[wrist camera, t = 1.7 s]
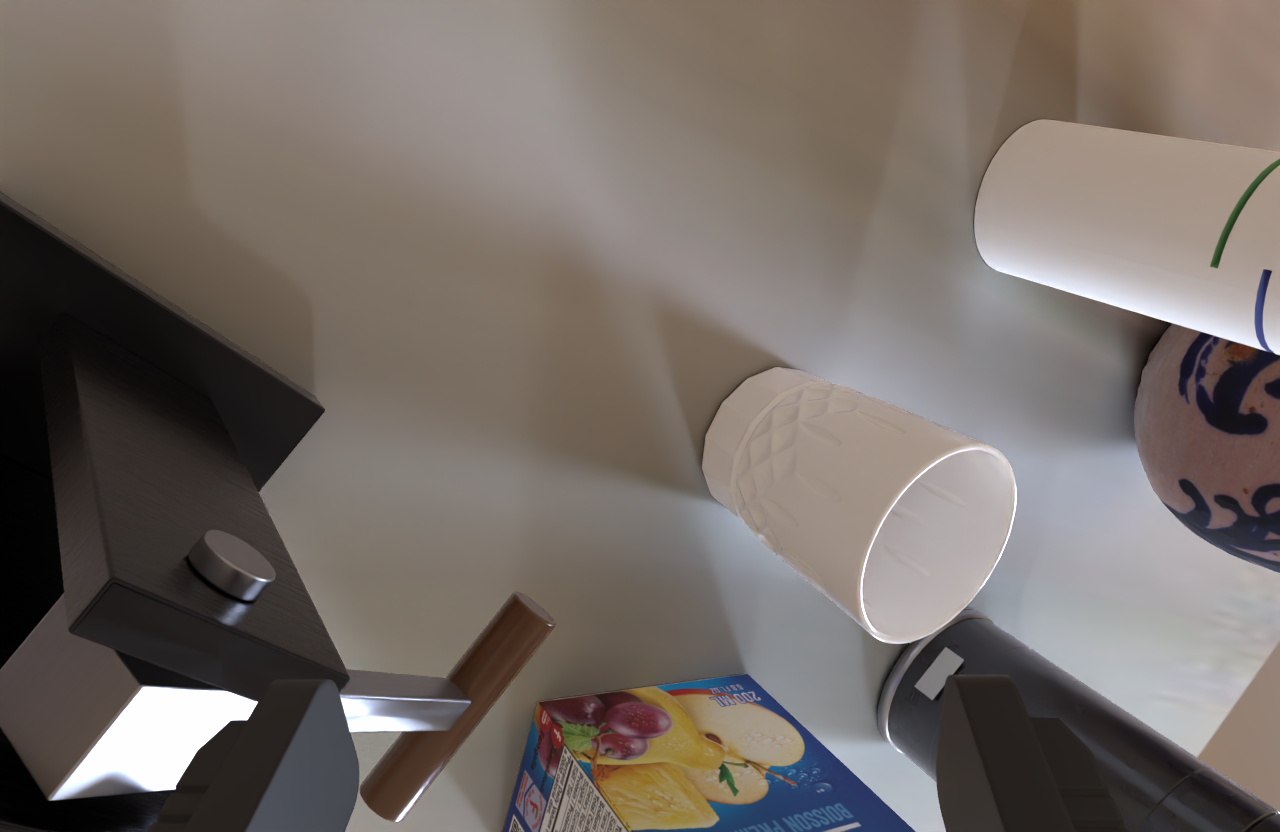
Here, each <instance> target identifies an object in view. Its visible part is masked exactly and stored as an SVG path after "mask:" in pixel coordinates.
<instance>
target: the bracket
mask: <svg viewBox="0 0 1280 832" xmlns="http://www.w3.org/2000/svg"><path fill="white" fill-rule="evenodd" d="M324 411H325V409H324V408H323V406H322V405H321V404H320V402H319V401H318V400H317V398H316V397H315V396H314V395H312V394H311V393H309V392H308V391H306V390H305V389H303V388H301V387H300V386H298V385H297V384H295V383H294V382H292V381H291V380H289V379H288V378H286V377H285V376H283V375H281V374H280V373H278V372H277V371H275V370H274V369H272V368H271V367H269V366H268V365H266V364H265V363H263V362H261V361H260V360H258V359H257V358H255V357H254V356H252V355H251V354H249V353H248V352H246V351H244V350H243V349H241V348H240V347H238V346H237V345H235V344H234V343H232V342H231V341H229V340H228V339H226V338H224V337H223V336H221V335H220V334H218V333H217V332H215V331H214V330H212V329H211V328H209V327H208V326H206V325H204V324H203V323H201V322H200V321H198V320H197V319H195V318H194V317H192V316H191V315H189V314H187V313H186V312H184V311H183V310H181V309H180V308H178V307H177V306H175V305H174V304H172V303H171V302H169V301H167V300H166V299H164V298H163V297H161V296H160V295H158V294H157V293H155V292H154V291H152V290H151V289H149V288H147V287H146V286H144V285H143V284H141V283H140V282H138V281H137V280H135V279H134V278H132V277H131V276H129V275H127V274H126V273H124V272H123V271H121V270H120V269H118V268H117V267H115V266H114V265H112V264H110V263H109V262H107V261H106V260H104V259H103V258H101V257H100V256H98V255H97V254H95V253H94V252H92V251H90V250H89V249H87V248H86V247H84V246H83V245H81V244H80V243H78V242H77V241H75V240H74V239H72V238H70V237H69V236H67V235H66V234H64V233H63V232H61V231H60V230H58V229H57V228H55V227H53V226H52V225H50V224H49V223H47V222H46V221H44V220H43V219H41V218H40V217H38V216H37V215H35V214H33V213H32V212H30V211H29V210H27V209H26V208H24V207H23V206H21V205H20V204H18V203H17V202H15V201H13V200H12V199H10V198H9V197H7V196H6V195H4V194H3V193H1V192H0V670H1V668H2V667H3V666H4V665H5V664H6V662H7V661H8V660H9V659H10V657H11V656H12V655H13V654H14V653H15V651H16V650H17V649H18V648H19V647H20V645H21V644H22V643H23V642H24V641H25V639H26V638H27V637H28V636H29V635H30V633H31V632H32V631H33V630H34V629H35V627H36V626H37V625H38V624H39V622H40V621H41V620H42V619H43V618H44V616H45V615H46V614H47V613H48V612H49V610H50V609H51V608H52V607H53V606H54V604H55V603H56V602H57V601H58V600H59V598H60V597H61V596H62V595H63V593H64V597H65V607H66V617H67V626H68V631H69V632H70V633H71V634H74V635H76V636H79V637H82V638H84V639H87V640H90V641H92V642H95V643H98V644H100V645H103V646H106V647H109V648H111V649H114V650H117V651H119V652H122V653H125V654H127V655H130V656H133V657H135V658H138V659H141V660H144V661H146V662H149V663H152V664H154V665H157V666H160V667H162V668H165V669H168V670H171V671H173V672H176V673H179V674H181V675H184V676H187V677H189V678H192V679H195V680H197V681H200V682H203V683H206V684H208V685H211V686H214V687H216V688H219V689H222V690H224V691H227V692H230V693H232V694H235V695H238V696H241V697H243V698H246V699H249V700H251V701H254V702H258V701H259V699H260V697H261V696H262V694H263V692H264V690H265V689H266V687H267V686H268V685H269V684H270V683H271V682H272V681H274V680H310V679H329V680H332V681H333V682H334V683H335V684H336V686H337V688H338V691H339V694H340V693H341V692H342V691H343V689H344V688H345V687H346V686H347V684H348V683H349V682H350V676H349V674H348V672H347V670H346V668H345V666H344V664H343V662H342V660H341V658H340V656H339V654H338V652H337V650H336V648H335V646H334V644H333V642H332V640H331V638H330V636H329V634H328V632H327V630H326V628H325V626H324V624H323V622H322V620H321V618H320V616H319V614H318V612H317V610H316V608H315V606H314V604H313V602H312V600H311V597H310V595H309V593H308V591H307V589H306V587H305V585H304V583H303V581H302V579H301V577H300V575H299V573H298V571H297V569H296V567H295V565H294V563H293V561H292V559H291V557H290V555H289V553H288V551H287V549H286V547H285V545H284V543H283V541H282V539H281V537H280V535H279V533H278V531H277V529H276V527H275V525H274V523H273V521H272V519H271V517H270V515H269V513H268V511H267V509H266V507H265V505H264V503H263V501H262V499H261V497H260V495H259V493H258V492H259V491H260V490H261V488H262V487H263V486H264V485H265V484H266V482H267V481H268V480H269V479H270V477H271V476H272V475H273V474H274V473H275V471H276V470H277V469H278V468H279V466H280V465H281V464H282V463H283V462H284V460H285V459H286V458H287V457H288V455H289V454H290V453H291V452H292V451H293V449H294V448H295V447H296V446H297V444H298V443H299V442H300V441H301V440H302V438H303V437H304V436H305V435H306V434H307V432H308V431H309V430H310V429H311V427H312V426H313V425H314V424H315V423H316V421H317V420H318V419H319V418H320V416H321V415H322V414H323V413H324ZM174 792H175V790H167V791H156V792H144V793H133V794H122V795H111V796H100V797H88V798H77V799H66V800H55V801H49V800H47V799H46V797H45V796H44V794H43V793H42V791H41V790H40V788H39V787H38V785H37V783H36V782H35V780H34V779H33V777H32V776H31V774H30V773H29V771H28V770H27V768H26V767H25V765H24V763H23V762H22V760H21V759H20V757H19V756H18V754H17V753H16V751H15V750H14V748H13V746H12V745H11V743H10V742H9V740H8V739H7V737H6V736H5V734H4V733H3V731H2V730H1V728H0V832H147V831H148V830H149V828H150V826H151V825H152V823H153V822H157V820H158V813H159V812H160V810H161V809H162V807H163V805H164V804H165V802H166V800H167V799H168V797H169V796H170V794H171V793H174Z"/></svg>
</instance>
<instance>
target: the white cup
mask: <svg viewBox="0 0 1280 832" xmlns="http://www.w3.org/2000/svg"><path fill="white" fill-rule="evenodd" d="M702 470H703V473H704V476H705V479H706V482H707V485H708V488H709V491H710V493H711V495H712V496H713V497H714V498H715V499H716V500H717V501H719V502H720V503H721V504H722V505H724V506H725V507H726V508H727V509H729V510H730V511H731V512H732V513H733V514H735V515H736V516H737V517H738V518H739V519H740V520H741V521H742V522H744V523H745V524H746V525H747V526H748V527H749V528H750V529H751V531H752V532H753V533H754V535H755V536H756V537H757V538H759V539H760V540H761V541H762V542H763V543H764V544H765V545H766V546H767V547H768V548H769V549H771V550H772V551H773V552H774V553H775V554H776V555H777V556H778V557H779V558H780V559H782V560H783V561H784V562H785V563H786V564H787V565H789V566H790V567H791V568H792V569H793V570H795V571H796V572H797V573H798V574H799V575H801V576H802V577H803V578H804V579H805V580H807V581H808V582H809V583H810V584H811V585H813V586H814V587H815V588H816V589H817V590H819V591H820V592H821V593H822V594H823V595H825V596H826V597H827V598H828V599H829V600H831V601H832V602H833V603H834V604H835V605H836V606H838V607H839V608H840V609H841V610H842V611H844V612H845V613H846V614H847V615H848V616H850V617H851V618H852V619H853V620H854V621H855V622H857V623H858V624H859V625H860V626H861V627H863V628H864V629H865V630H866V631H867V632H868V633H870V634H871V635H872V636H873V637H875V638H876V639H878V640H880V641H883V642H886V643H891V644H903V643H909V642H913V641H916V640H919V639H922V638H924V637H926V636H928V635H930V634H932V633H934V632H935V631H937V630H939V629H940V628H942V627H943V626H944V625H946V624H947V623H948V622H950V621H951V620H952V619H953V618H954V617H956V616H957V615H958V614H959V613H960V612H961V611H962V610H963V609H964V608H965V607H966V606H967V605H968V604H969V603H970V601H971V600H972V599H973V598H974V597H975V596H976V594H977V593H978V592H979V591H980V589H981V588H982V586H983V585H984V584H985V582H986V581H987V579H988V578H989V576H990V575H991V573H992V571H993V570H994V568H995V566H996V564H997V562H998V560H999V558H1000V556H1001V554H1002V552H1003V550H1004V548H1005V545H1006V543H1007V540H1008V537H1009V534H1010V531H1011V528H1012V524H1013V520H1014V515H1015V509H1016V497H1017V492H1016V481H1015V476H1014V472H1013V469H1012V467H1011V465H1010V463H1009V461H1008V460H1007V458H1006V457H1005V456H1004V455H1003V454H1002V453H1001V452H1000V451H999V450H998V449H996V448H994V447H992V446H990V445H987V444H985V443H982V442H980V441H978V440H975V439H973V438H970V437H968V436H966V435H963V434H961V433H958V432H956V431H953V430H951V429H949V428H946V427H944V426H942V425H939V424H937V423H934V422H932V421H930V420H927V419H925V418H923V417H920V416H918V415H916V414H913V413H911V412H908V411H906V410H904V409H901V408H899V407H897V406H894V405H892V404H889V403H887V402H884V401H882V400H879V399H876V398H873V397H870V396H867V395H865V394H863V393H861V392H858V391H856V390H853V389H850V388H848V387H845V386H841V385H838V384H833V383H830V382H828V381H826V380H823V379H821V378H819V377H817V376H814V375H812V374H810V373H807V372H805V371H802V370H795V369H788V368H781V367H774V368H772V369H769V370H767V371H764V372H762V373H760V374H757V375H755V376H752V377H750V378H747V379H746V380H745V381H744V382H743V383H742V384H741V385H740V386H739V387H738V388H737V389H736V390H735V391H734V392H733V393H732V394H731V395H730V396H729V397H728V398H727V399H726V400H725V401H723V403H722V404H721V406H720V408H719V410H718V412H717V414H716V416H715V418H714V420H713V421H712V423H711V425H710V427H709V429H708V431H707V433H706V436H705V445H704V453H703V461H702Z"/></svg>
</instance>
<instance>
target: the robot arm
mask: <svg viewBox="0 0 1280 832" xmlns="http://www.w3.org/2000/svg"><path fill="white" fill-rule="evenodd" d="M877 720H878V727H879V731H880V733H881V735H882V737H883V738H884V739H885V740H886V741H887V742H888V743H889V744H890V745H891V746H893V747H894V748H895V749H896V750H898V751H899V752H902V753H903V754H904V755H906V756H907V757H908V758H909V759H910V760H911V761H913V762H914V763H915V764H916V765H917V766H918V767H920V768H921V769H922V770H923V771H924V772H925V773H926V774H928V775H929V776H930V777H931V778H932V779H933V780H935V782H937V791H938V798H939V804H940V809H941V813H942V817H943V821H944V825H945V828H946V832H1280V812H1279V811H1278V810H1276V809H1275V808H1273V807H1272V806H1270V805H1269V804H1267V803H1266V802H1264V801H1263V800H1261V799H1260V798H1258V797H1257V796H1255V795H1253V794H1252V793H1250V792H1249V791H1247V790H1246V789H1244V788H1243V787H1241V786H1240V785H1238V784H1237V783H1235V782H1234V781H1232V780H1230V779H1229V778H1228V777H1226V776H1225V775H1223V774H1221V773H1220V772H1218V771H1217V770H1215V769H1213V768H1212V767H1210V766H1209V765H1207V764H1206V763H1204V762H1203V761H1201V760H1200V759H1198V758H1196V757H1195V756H1193V755H1192V754H1190V753H1189V752H1187V751H1186V750H1184V749H1183V748H1181V747H1180V746H1178V745H1177V744H1175V743H1174V742H1172V741H1171V740H1169V739H1168V738H1166V737H1165V736H1163V735H1161V734H1160V733H1158V732H1157V731H1155V730H1154V729H1152V728H1151V727H1149V726H1148V725H1146V724H1145V723H1143V722H1142V721H1140V720H1139V719H1137V718H1136V717H1134V716H1133V715H1131V714H1130V713H1128V712H1126V711H1125V710H1123V709H1122V708H1120V707H1119V706H1117V705H1116V704H1114V703H1113V702H1111V701H1110V700H1108V699H1107V698H1105V697H1104V696H1102V695H1101V694H1099V693H1098V692H1096V691H1094V690H1093V689H1091V688H1090V687H1088V686H1087V685H1085V684H1084V683H1082V682H1081V681H1079V680H1078V679H1076V678H1075V677H1073V676H1072V675H1070V674H1069V673H1067V672H1066V671H1064V670H1063V669H1061V668H1059V667H1058V666H1056V665H1055V664H1053V663H1052V662H1050V661H1049V660H1047V659H1046V658H1044V657H1043V656H1041V655H1040V654H1038V653H1037V652H1035V651H1034V650H1033V649H1031V648H1029V647H1028V646H1026V645H1025V644H1023V643H1022V642H1020V641H1019V640H1017V639H1016V638H1014V637H1013V636H1011V635H1010V634H1008V633H1007V632H1005V631H1003V630H1002V629H1000V628H999V627H997V626H996V625H995V624H994V623H993V622H992V621H991V620H990V619H988V618H987V617H985V616H984V615H982V614H981V613H979V612H977V611H974V610H969V609H964V610H962V611H961V612H960V613H959V614H958V615H957V616H956V617H954V618H953V619H952V620H951V621H950V622H948V623H947V624H946V625H944V626H943V627H942V628H940V629H939V630H937V631H935V632H934V633H932V634H930V635H928V636H926V637H924V638H922V639H919V640H916V641H913V642H911V643H910V645H909V646H908V647H907V648H906V650H905V651H904V652H903V653H902V655H901V656H900V658H899V659H898V661H897V662H896V664H895V665H894V667H893V669H892V671H891V672H890V674H889V676H888V678H887V681H886V683H885V685H884V688H883V691H882V694H881V697H880V701H879V706H878V715H877ZM358 786H359V764H358V758H357V755H356V751H355V747H354V744H353V740H352V737H351V733H350V730H349V726H348V723H347V719H346V716H345V712H344V709H343V705H342V702H341V698H340V694H339V691H338V688H337V686H336V684H335V683H334V682H333V681H332V680H329V679H310V680H274V681H272V682H271V683H270V684H269V685H268V686H267V687H266V689H265V690H264V692H263V694H262V696H261V697H260V699H259V701H258V702H257V704H256V706H255V708H254V709H253V711H252V713H251V715H250V716H249V718H248V720H231V721H229V722H228V723H227V724H226V725H225V726H224V727H223V728H222V729H221V730H220V731H218V732H217V733H216V734H215V735H214V736H213V737H212V738H211V739H210V740H208V741H207V742H206V743H205V744H204V745H203V746H202V747H201V748H200V749H198V750H197V752H196V753H195V755H194V757H193V758H192V760H191V761H190V763H189V765H188V766H187V768H186V770H185V771H184V773H183V774H182V776H181V778H180V779H179V781H178V783H177V784H176V790H175V792H174V793H171V794H170V796H169V797H168V799H167V800H166V802H165V804H164V805H163V807H162V809H161V810H160V812H159V813H158V820H157V822H153V823H152V825H151V826H150V828H149V830H148V831H147V832H345V829H346V827H347V824H348V822H349V819H350V817H351V814H352V812H353V809H354V806H355V802H356V798H357V793H358Z"/></svg>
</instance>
